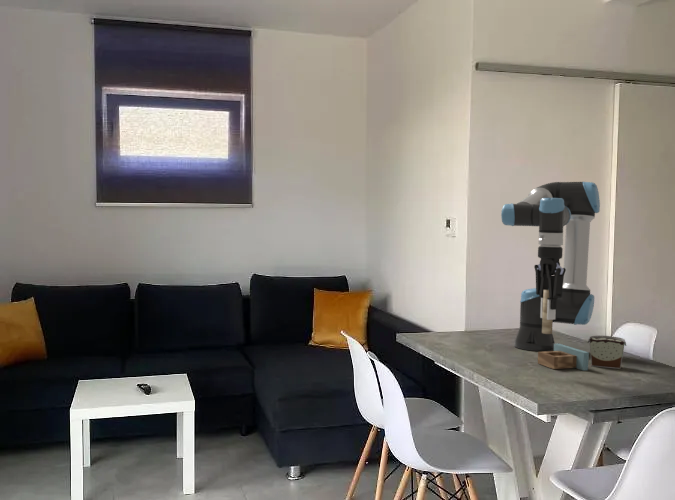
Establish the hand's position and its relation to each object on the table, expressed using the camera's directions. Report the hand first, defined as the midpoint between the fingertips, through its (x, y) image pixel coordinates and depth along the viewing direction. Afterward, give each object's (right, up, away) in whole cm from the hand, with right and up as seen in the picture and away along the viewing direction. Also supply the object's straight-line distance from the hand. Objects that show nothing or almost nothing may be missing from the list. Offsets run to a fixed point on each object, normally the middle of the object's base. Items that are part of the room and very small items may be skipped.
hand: (547, 318), depth 221 cm
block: (+7, -18, +13) cm, 23 cm away
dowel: (0, -5, 0) cm, 5 cm away
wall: (+12, -18, +15) cm, 26 cm away
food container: (+25, -18, +16) cm, 35 cm away
